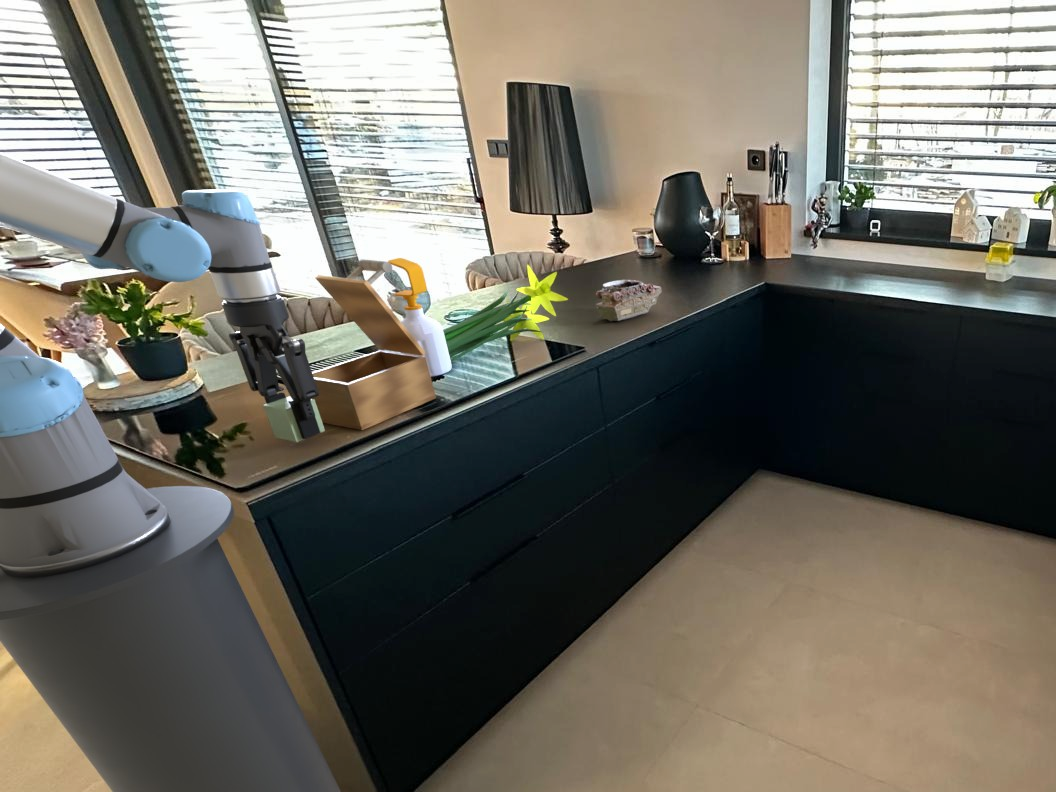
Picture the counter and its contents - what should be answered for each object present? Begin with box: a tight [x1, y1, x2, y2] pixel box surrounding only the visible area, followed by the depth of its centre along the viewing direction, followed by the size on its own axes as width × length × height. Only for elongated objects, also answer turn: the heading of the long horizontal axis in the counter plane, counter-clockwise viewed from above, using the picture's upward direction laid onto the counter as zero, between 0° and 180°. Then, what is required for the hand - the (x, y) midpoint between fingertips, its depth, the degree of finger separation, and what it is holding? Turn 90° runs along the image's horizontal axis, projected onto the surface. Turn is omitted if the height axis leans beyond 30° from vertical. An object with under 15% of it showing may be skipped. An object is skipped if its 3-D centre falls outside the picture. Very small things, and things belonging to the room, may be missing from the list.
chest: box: [311, 349, 437, 431], centre depth 119 cm, size 17×12×9 cm
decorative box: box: [594, 279, 663, 322], centre depth 185 cm, size 13×20×10 cm, turn 139°
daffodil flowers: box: [443, 263, 569, 363], centre depth 154 cm, size 17×15×35 cm
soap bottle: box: [387, 257, 453, 378], centre depth 135 cm, size 9×9×25 cm
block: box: [262, 395, 326, 443], centre depth 106 cm, size 5×5×6 cm
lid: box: [314, 258, 426, 356], centre depth 119 cm, size 18×12×8 cm
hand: (299, 432), depth 107 cm, fingers closed on block, 5 cm apart
